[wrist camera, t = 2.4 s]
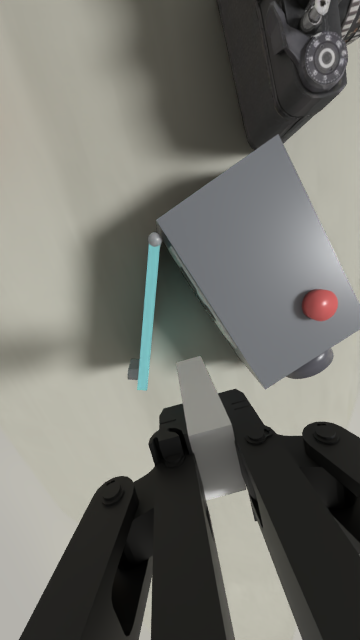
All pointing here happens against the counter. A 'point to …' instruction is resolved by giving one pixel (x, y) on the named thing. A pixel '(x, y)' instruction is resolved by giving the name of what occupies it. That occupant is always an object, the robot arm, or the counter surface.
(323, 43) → the camera
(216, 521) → the counter surface
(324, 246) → the grey boxy piece
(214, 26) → the counter surface
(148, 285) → the door
